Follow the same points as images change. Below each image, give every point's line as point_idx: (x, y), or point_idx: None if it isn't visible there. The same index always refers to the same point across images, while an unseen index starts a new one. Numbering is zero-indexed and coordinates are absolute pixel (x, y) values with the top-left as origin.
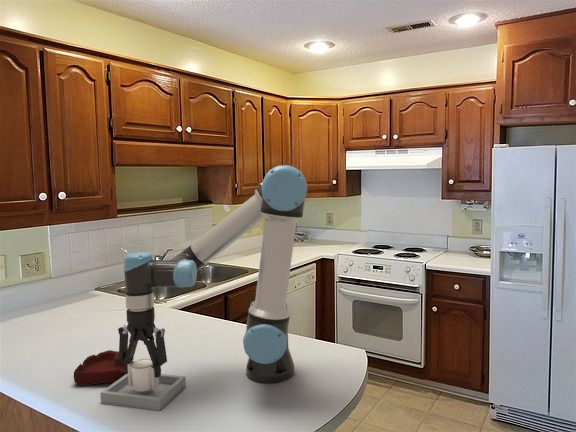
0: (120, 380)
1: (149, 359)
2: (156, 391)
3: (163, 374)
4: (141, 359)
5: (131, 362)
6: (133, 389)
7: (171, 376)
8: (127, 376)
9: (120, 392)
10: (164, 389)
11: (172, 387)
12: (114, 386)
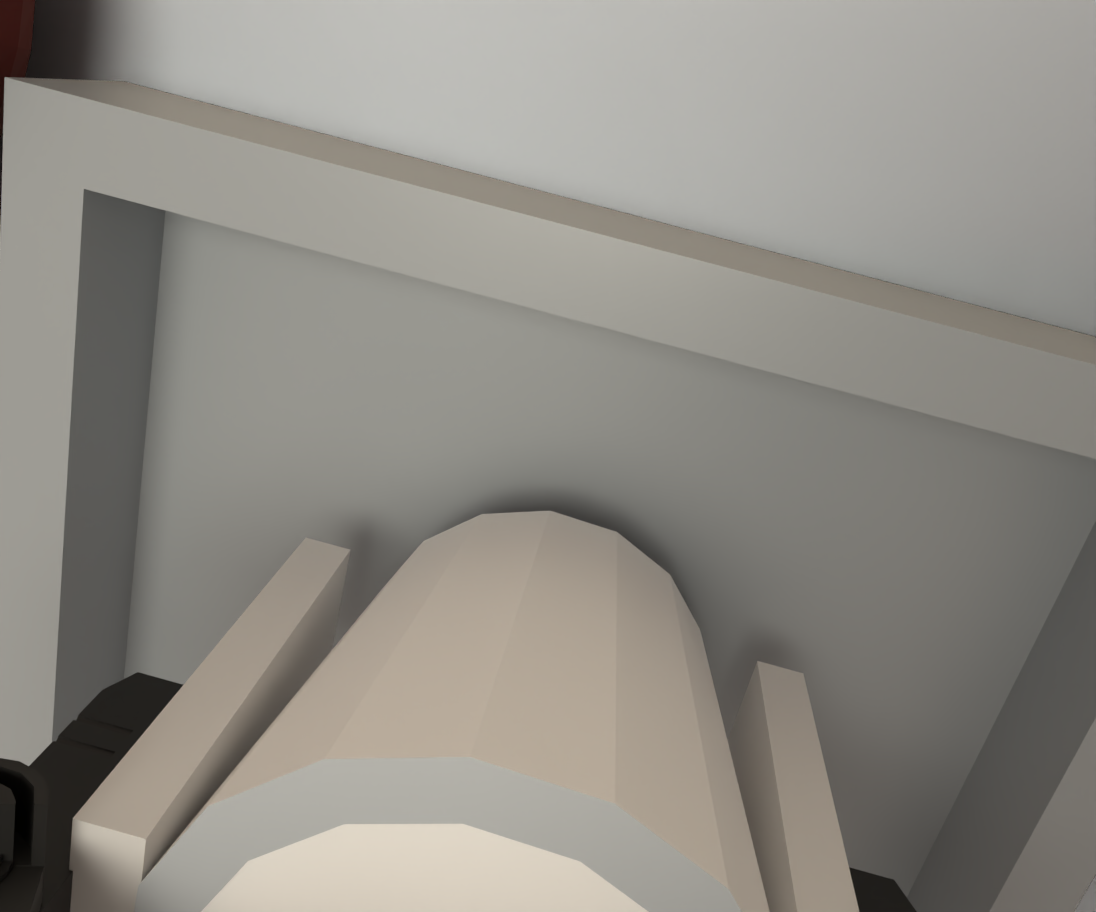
0: (47, 529)
1: (540, 831)
2: (739, 607)
3: (808, 313)
4: (277, 783)
5: (84, 901)
6: (341, 520)
7: (1015, 423)
8: (78, 356)
9: (190, 599)
10: (861, 553)
11: (1093, 846)
12: (64, 686)
